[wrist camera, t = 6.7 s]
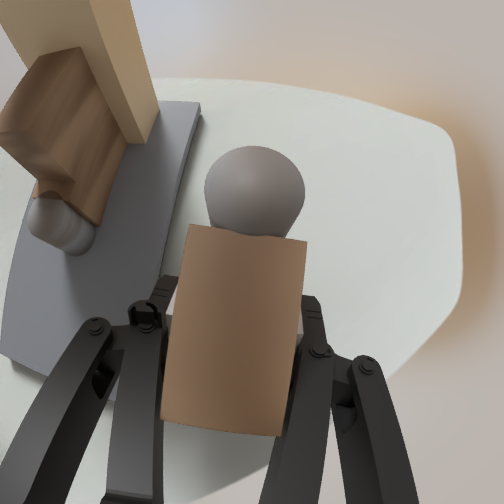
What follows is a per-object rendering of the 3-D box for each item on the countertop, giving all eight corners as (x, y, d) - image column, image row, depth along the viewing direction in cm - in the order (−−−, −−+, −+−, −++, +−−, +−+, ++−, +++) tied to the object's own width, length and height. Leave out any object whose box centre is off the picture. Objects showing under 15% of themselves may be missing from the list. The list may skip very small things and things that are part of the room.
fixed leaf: (56, 252, 19) (-40, 200, 9) (93, 142, 22) (38, 56, 11) (92, 259, 20) (-5, 204, 9) (127, 143, 22) (80, 46, 11)
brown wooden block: (199, 367, 18) (159, 419, 7) (220, 233, 20) (209, 139, 10) (254, 375, 18) (280, 436, 7) (272, 241, 20) (313, 155, 10)
